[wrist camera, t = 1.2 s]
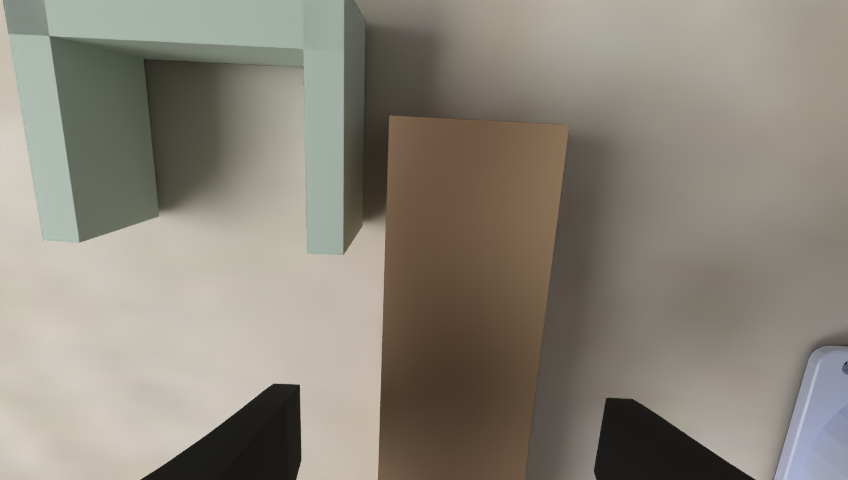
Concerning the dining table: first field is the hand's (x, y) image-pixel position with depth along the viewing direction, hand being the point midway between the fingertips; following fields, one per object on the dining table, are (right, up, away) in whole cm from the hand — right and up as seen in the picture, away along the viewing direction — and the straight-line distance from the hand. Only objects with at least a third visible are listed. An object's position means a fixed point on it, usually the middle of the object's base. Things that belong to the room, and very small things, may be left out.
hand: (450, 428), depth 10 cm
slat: (0, +1, +4) cm, 4 cm away
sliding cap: (-6, +7, +2) cm, 10 cm away
